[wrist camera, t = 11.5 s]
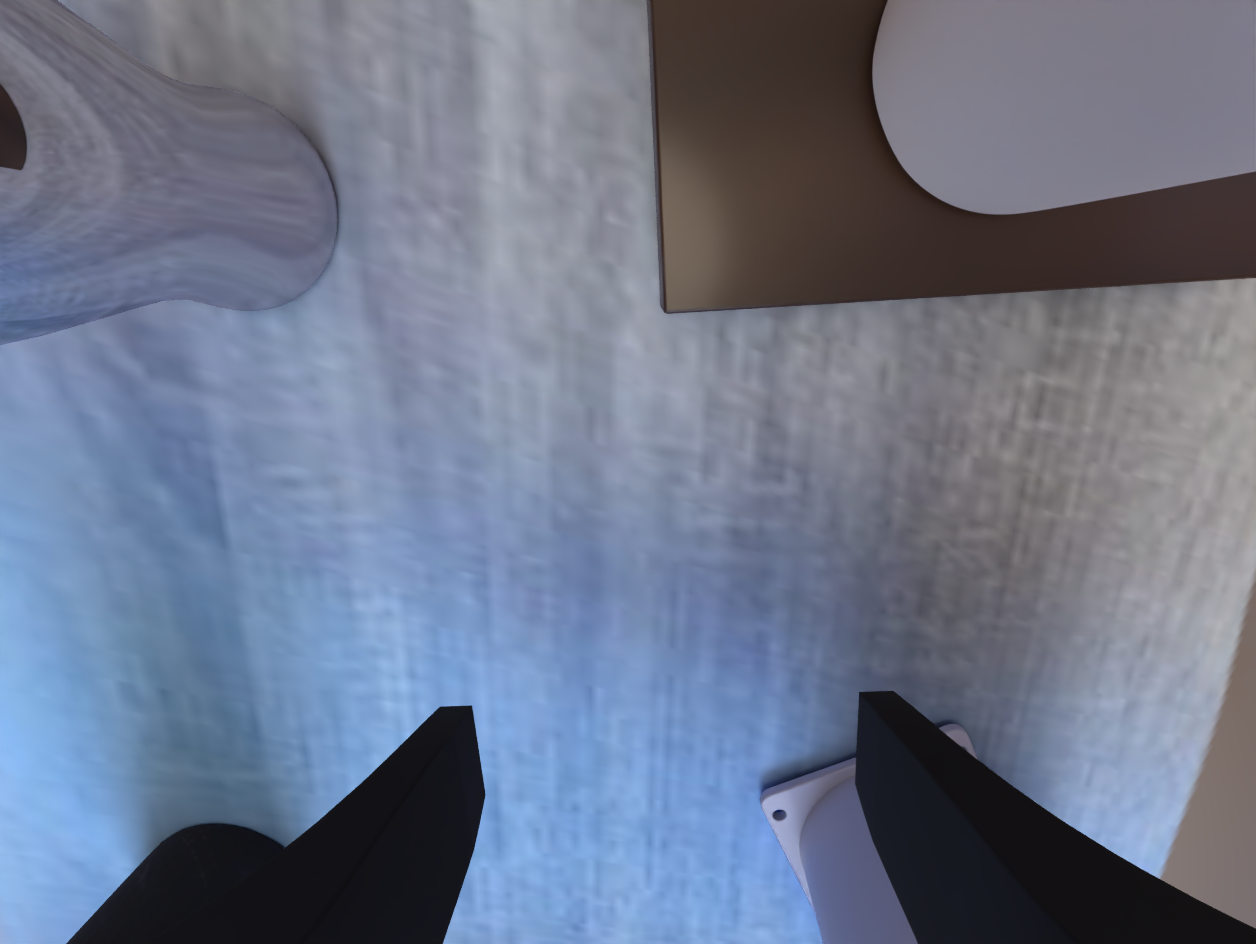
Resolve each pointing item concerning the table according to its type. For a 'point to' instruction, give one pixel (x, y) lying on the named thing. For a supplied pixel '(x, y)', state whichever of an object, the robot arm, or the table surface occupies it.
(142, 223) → the beer glass
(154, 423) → the table surface
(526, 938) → the table surface
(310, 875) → the robot arm
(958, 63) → the can
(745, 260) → the desk shelf
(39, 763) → the table surface
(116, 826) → the table surface
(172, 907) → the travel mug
